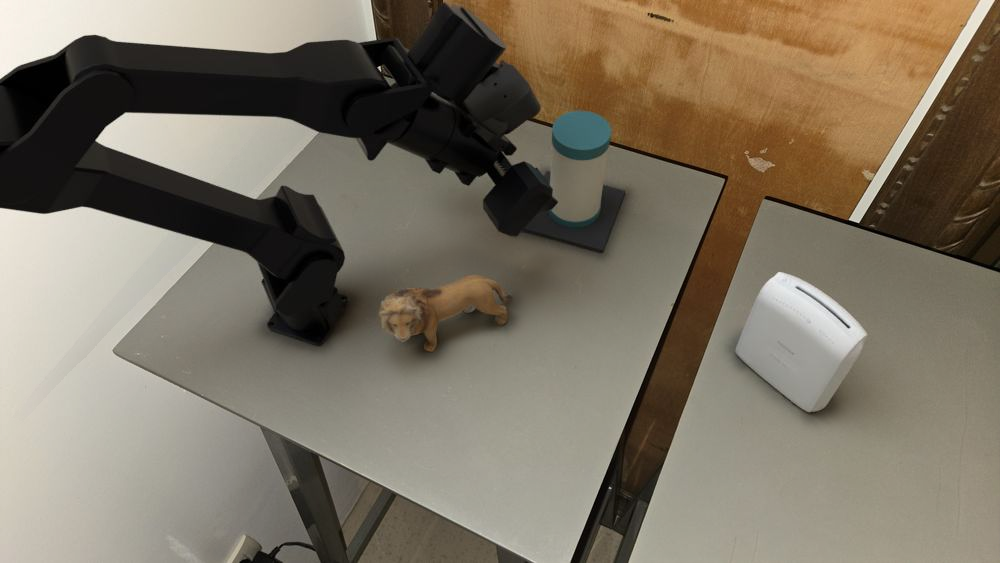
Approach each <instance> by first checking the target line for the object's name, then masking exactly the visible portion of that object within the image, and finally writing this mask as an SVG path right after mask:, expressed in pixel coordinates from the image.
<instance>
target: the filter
mask: <svg viewBox="0 0 1000 563" xmlns="http://www.w3.org/2000/svg"><path fill="white" fill-rule="evenodd" d="M551 129H552V130H551V144H552V145H551V159H550V160H551V161H550V162H551V163H550V172H551V174H550V186H551V187H552V189H553V193H552V196H553V197H554V198H555V199H556V200H557V201H558V203H557V205H556V206H555V207H554V208H553V209H551V210H548V212H549V215H550V216H551V218H552V219H553V220H554V221H556V222H557V223H559V224H560V225H563V226H566V227H571V228H580V227H585V226H588V225H590V224H592V223H593V222H594V221H595V220H596V219H597V218H598V216H599V214H600V209H601V196H602V189H603V185H604V182H605V173H606V166H607V160H608V154H609V148H610V144H611V138H612V127H611V125H610V123H609V122H608V120H606V119H605V118H604V117H603V116H601V115H599V114H598V113H595V112H592V111H587V110H573V111H569V112H566V113H564V114H561V115H560V116H559V117H557V118H556V119H555V121H554V122H553V124H552V128H551Z"/></svg>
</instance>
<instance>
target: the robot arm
mask: <svg viewBox="0 0 1000 563" xmlns="http://www.w3.org/2000/svg"><path fill="white" fill-rule="evenodd" d="M506 50H507V45H506V44H505V42H504V41H503V40H502V39H501V37H499V35H498V34H497V33H496V32H495V31H494V30H492V28H491V27H489V25H488V24H486V23H485V22H484V21H483V20H481V19H480V17H478V16H476V14H474V13H473V12H471V11H470V10H468V9H467V8H466V7H464V6H463V5H462V6H460V7H459V6H458V5H456V4H452V5H450V4H448V3H447V2H445V1H444V2H441V4H440V5H439V6H438V7H437V9H436V10H435V12H434V13H433V15H432V17H431V19H430V21H429V23H428V24H427V26H426V27H425V29H424V30H423V31H422V32H421V34H420V35H419V37H418V38H417V39H416V41H415V42H414V44H412V47H411V48H410V49H408V48H406V47H405V46H404V45H403V44H402V42H401V41H400V40H399V38H398V37H397V36H393V37H387V38H386V37H385V38H379V39H373V40H368V41H361V42H358V41H354V40H350V39H333V40H332V39H331V40H319V41H308V42H305V43H303V44H300V45H298V46H296V47H294V48H292V49H290V50H287V51H282V52H262V51H261V52H260V51H249V50H248V51H247V50H234V49H221V48H219V49H218V48H207V47H193V46H181V45H180V46H179V45H167V44H154V43H143V42H142V43H140V42H131V41H130V42H128V41H116V40H112V39H109V38H108V37H106V36H103V35H98V34H89V35H88V34H86V35H82V36H80V37H78V38H76V39H74V40H73V41H71V42H70V43H68V44H67V45H65V46H64V47H63V48H61V49H60V50H59V51H57V52H56V53H54V54H52V55H49V56H45V57H42V58H39V59H36V60H35V59H34V60H32V61H29V62H26V63H23V64H20V65H17V66H16V67H15V68H13V69H12V70H10V71H9V72H7V74H4V75H3V76H2V77H1V78H0V209H3V210H9V211H10V210H11V211H18V212H24V213H32V214H38V215H49V214H53V213H59V212H63V211H68V210H69V211H70V210H73V209H77V208H87V209H92V210H96V211H99V212H103V213H106V214H109V215H113V216H116V217H121V218H123V219H127V220H130V221H134V222H138V223H141V224H145V225H148V226H152V227H155V228H158V229H162V230H165V231H169V232H172V233H176V234H179V235H184V236H185V237H190V238H193V239H197V240H200V241H204V242H206V243H211V244H215V245H218V246H222V247H225V248H228V249H233V250H235V251H239V252H242V253H245V254H247V255H249V256H250V257H251V258H252V259H253V260H254V261H256V263H257V266H258V268H259V271H260V273H261V276H262V279H261V285H262V287H263V290H264V291H265V294H266V296H267V299H268V301H269V303H270V306H271V308H272V311H273V314H272V315H271V316H270V319H269V320H268V322H267V324H266V326H267V329H268V330H270V331H273V332H276V333H279V334H283V335H285V336H288V337H291V338H294V339H297V340H300V341H303V342H306V343H309V344H312V345H315V346H321V345H322V344H323V343H324V342H325V341H326V339H327V337H328V336H329V334H330V333H331V331H333V330H334V329H335V328H336V326H337V324H338V322H339V321H340V319H341V318H342V316H343V314H344V312H345V308H346V306H347V305H348V303H349V297H348V296H347V295H345V294H342V293H340V292H339V290H338V287H337V286H336V281H337V278H338V273H340V271H341V269H342V268H343V266H344V264H345V261H346V255H345V251H344V249H343V246H342V245H341V243H340V241H339V239H338V237H337V235H336V232H335V231H334V229H333V227H332V224H331V223H330V221H329V219H328V217H327V215H326V213H325V211H324V209H323V207H322V206H321V205H320V203H319V202H318V200H317V198H316V196H315V194H308V193H307V194H305V193H302V192H298V191H296V190H294V189H292V187H289V186H287V185H281V186H280V187H279V189H278V191H277V192H276V194H275V195H273V196H268V197H264V198H259V199H256V198H252V197H251V196H247V195H244V194H242V193H239V192H236V191H233V190H230V189H227V188H225V187H222V186H219V185H216V184H213V183H210V182H208V181H205V180H202V179H199V178H197V177H194V176H191V175H188V174H185V173H183V172H180V171H176V170H174V169H172V168H171V169H170V168H168V167H165V166H162V165H160V164H157V163H154V162H152V161H149V160H145V159H142V158H140V157H137V156H134V155H131V154H128V153H126V152H122V151H120V150H118V149H114V148H111V147H108V146H106V145H103V144H101V143H100V142H98V141H97V139H98V138H99V137H100V135H101V134H102V133H103V132H104V130H105V129H106V128H107V127H108V126H109V125H110V124H112V123H114V122H115V121H116V120H117V119H119V118H121V117H122V116H123V115H125V114H151V115H152V114H153V115H187V116H188V115H192V116H225V117H226V116H228V117H257V118H258V117H260V118H261V117H262V118H263V117H264V118H278V119H285V120H289V121H293V122H294V123H297V124H299V125H301V126H304V127H306V128H308V129H310V130H312V131H315V132H317V133H319V134H320V133H321V134H326V135H332V136H337V137H342V138H349V139H355V140H356V142H357V143H358V146H359V147H360V148H361V150H362V152H363V154H364V155H365V157H366V158H367V160H368V161H370V162H373V161H374V160H376V158H377V157H378V156H379V155H380V153H381V152H382V151H383V149H384V148H385V147H386V145H387V144H390V145H391V146H394V147H396V148H398V149H401V150H403V151H405V152H407V153H410V154H411V155H414V156H417V157H419V158H421V159H424V160H425V162H426V163H427V165H428V166H429V168H430V169H431V171H432V172H434V173H437V174H439V175H440V174H441V173H442V172H443V171H444V169H447V170H449V171H452V172H454V174H455V175H456V177H457V178H458V180H459V181H460V183H461V184H463V185H465V186H467V187H470V185H471V184H472V183H473V182H474V181H475V179H476V178H477V177H478V178H480V177H482V176H485V175H486V174H487V175H488V176H489V178H490V179H491V181H492V182H493V184H494V186H493V187H492V188H491V190H490V191H489V192H488V193H487V194H486V195H485V196H484V198H483V199H482V209H483V211H484V213H485V214H486V216H487V217H488V218H489V220H490V221H491V223H492V224H493V225H494V227H495V229H496V230H497V231H498V233H501V234H503V235H506V236H509V237H518V236H519V235H520V234H521V233H522V232H523V231H522V230H523V229H524V228H525V227H526V226H527V225H528V223H529V222H530V221H531V220H532V219H533V218H534V217H535V216H536V215H537V214H538V213H541V212H545V211H548V210H551V209H553V208H554V207H555V206H556V205H557V203H558V201H557V200H556V199H555V198H554V197H553V196H552V193H553V189H552V187H551V186H550V185H549V183H548V181H547V180H546V179H545V178H544V175H543V174H542V172H541V170H539V168H538V167H537V166H533V165H532V164H531V163H528V162H527V161H525V160H524V161H521V162H517V163H515V164H513V163H512V162H511V160H510V159H509V158H508V156H510V157H512V156H513V155H514V154H515V153H516V152H517V150H518V148H517V146H516V145H515V144H514V143H513V142H512V141H511V140H510V139H509V138H508V137H507V136H506V135H509V134H511V133H512V132H514V131H515V130H517V128H519V127H520V126H521V125H523V124H524V123H526V122H527V121H529V120H530V119H534V118H535V117H536V116H537V115H539V113H540V112H541V108H542V106H541V103H540V102H539V100H538V97H537V96H536V94H535V93H534V91H533V88H532V87H531V85H530V83H529V82H528V80H526V79H525V78H524V76H523V75H522V74H521V73H520V71H519V70H518V69H517V68H516V67H515V65H513V64H509V63H508V62H505V60H503V59H501V60H500V61H499V63H497V61H498V60H499V58H500V57H501V56H502V55H503V53H504V52H506ZM381 66H384V67H385V69H386V70H387V71H388V73H389V74H390V76H391V77H392V79H393V80H394V82H393V83H392V84H390V83H389V82H388V81H387V78H386V77H385V76H384V75H383V73H382V71H381V70H380V69H379V67H381ZM335 286H336V287H335Z"/></svg>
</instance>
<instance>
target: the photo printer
mask: <svg viewBox="0 0 1000 563" xmlns="http://www.w3.org/2000/svg"><path fill="white" fill-rule="evenodd" d="M867 338H868V333H867V331H866V330H865V329H864V328H863V327H862V325H861V324H860V323H859V322H858V320H856V318H855V317H854V316H852V315H851V313H850V312H848V311H847V310H846V309H845V308H844V307H843V306H842V305H841V304H839V303H838V302H837V301H835V299H833V298H832V297H831V296H829V295H827V294H826V293H824V291H822V290H821V289H819V288H817V287H816V286H815V285H812V284H810V283H809V282H807V281H806V280H804V279H801V278H799V277H798V276H795V275H793V274H789V273H786V272H782V271H778V272H776V274H775V275H774V276H772V277H771V278H770V279H768V280H767V282H765V284H764V285H762V287H761V289H760V291H759V292H758V295H757V297H756V299H755V301H754V303H753V305H752V308H751V310H750V314H749V315H748V318H747V320H746V322H745V325H744V327H743V330H742V332H741V334H740V336H739V339H738V341H737V344H736V347H735V350H734V351H735V354H736V355H737V356H738V357H739V359H740V360H742V362H744V363H745V364H746V365H747V366H748V367H749V368H750V369H751V370H753V371H754V372H755V373H756V374H757V375H758V376H760V378H762V379H763V380H764V381H766V382H767V383H768V384H770V386H772V387H773V388H774V389H775V390H777V391H778V392H779V393H780V394H782V395H783V396H784V397H786V398H787V399H788V400H789V401H791V402H792V403H793V404H795V405H796V406H797V407H798V408H800V409H802V410H803V411H805V412H806V413H811V412H812V413H814V412H815V413H816V412H819V411H821V410H823V409H824V408H826V406H827V405H828V404H829V402H830V401H831V399H832V397H833V396H834V395H835V393H836V392H837V390H838V389H839V387H840V385H841V384H842V383H843V381H844V379H845V378H846V376H847V375H848V373H849V371H851V368H852V367H853V366H854V364H855V363H856V361H857V359H858V358H859V356H861V353H862V351H863V348H864V344H865V342H866V340H867Z"/></svg>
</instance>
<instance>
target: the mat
mask: <svg viewBox="0 0 1000 563" xmlns="http://www.w3.org/2000/svg"><path fill="white" fill-rule="evenodd" d="M550 174H551V170H546V171H545V174H544V175H543V176H544V178H545V179H546V180H547V181H548V183H549V185H550ZM625 195H626V190H624V189H621V188H618V187H617V188H616V187H612V186H609V185H604V184H603V189H602V196H601V209H600V214H599V216H598V218H597V219H596V220H595V221H594V222H593V223H592V224H590V225H588V226H585V227H580V228H571V227H566V226H563V225H560V224H559V223H557V222H556V221H554V220H553V219H552V218H551V216H550V215H549V212H548V211H545V212H541V213H538V214H537V215H536V216H535V217H534V218H533V219H532V220H531V221H530V222H529V223H528V225H527V226H526V227H525V228H524V229H523V230H522V231H521V232H523V233H527V234H531V235H534V236H538V237H541V238H545V239H548V240H552V241H556V242H559V243H564V244H566V245H567V244H568V245H571V246H575V247H578V248H581V249H584V250H585V249H586V250H589V251H592V252H596V253H600V254H603V253H604V250H605V247H606V245H607V242H608V239H609V237H610V234H611V231H612V229H613V227H614V223H615V222H616V219H617V216H618V213H619V211H620V208H621V205H622V203H623V200H624V198H625Z"/></svg>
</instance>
